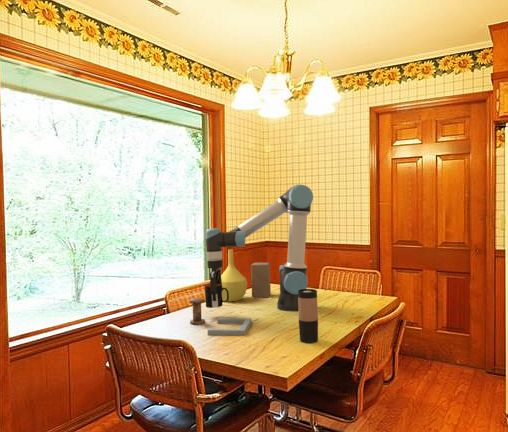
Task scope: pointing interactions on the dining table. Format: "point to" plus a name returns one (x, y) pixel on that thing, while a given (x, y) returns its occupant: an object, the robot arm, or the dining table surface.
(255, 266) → the wooden block
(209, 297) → the mug
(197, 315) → the bobbin post
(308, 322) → the travel mug
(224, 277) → the vase
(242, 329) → the notch board
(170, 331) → the dining table surface
